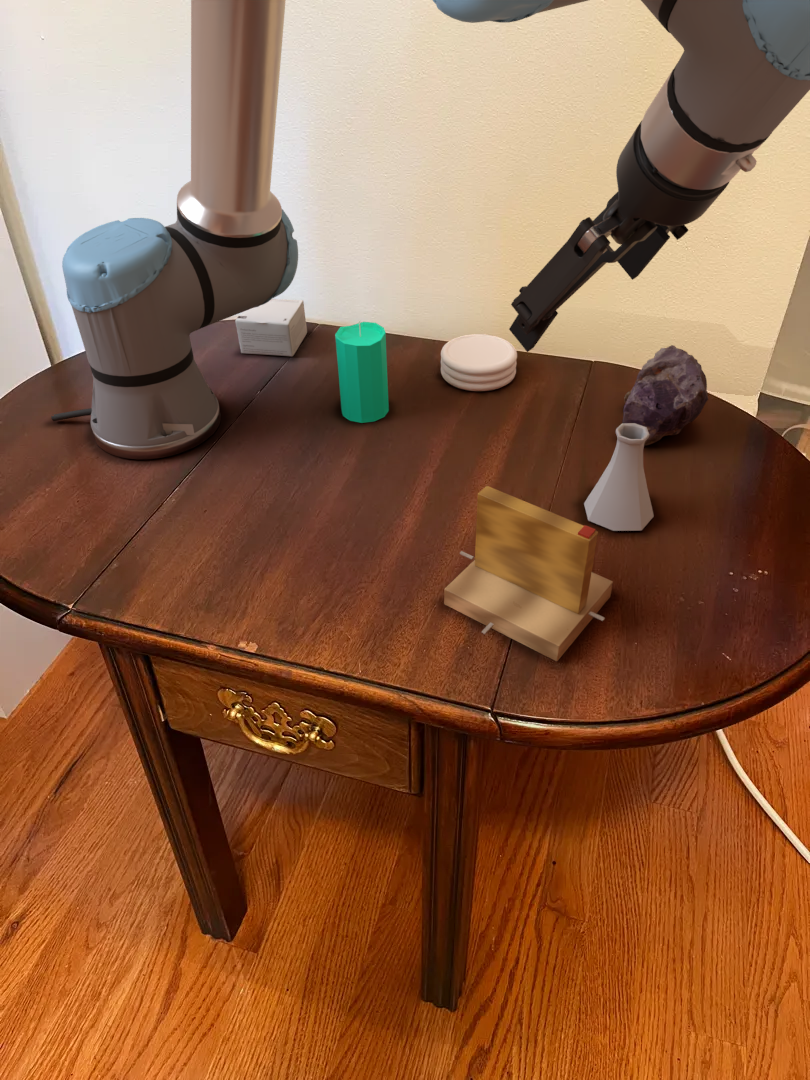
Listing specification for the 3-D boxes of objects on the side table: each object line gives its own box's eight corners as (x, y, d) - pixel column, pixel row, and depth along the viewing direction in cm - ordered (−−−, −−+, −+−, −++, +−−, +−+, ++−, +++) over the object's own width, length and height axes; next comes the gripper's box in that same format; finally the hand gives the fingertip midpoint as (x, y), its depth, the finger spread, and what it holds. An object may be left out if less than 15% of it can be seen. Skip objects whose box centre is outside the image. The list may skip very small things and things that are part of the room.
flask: (657, 498, 90) (674, 418, 83) (649, 539, 84) (666, 457, 78) (589, 486, 92) (601, 407, 85) (577, 526, 86) (589, 445, 80)
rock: (605, 448, 99) (692, 465, 96) (610, 391, 93) (703, 406, 89) (629, 389, 106) (711, 402, 103) (635, 331, 100) (723, 344, 96)
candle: (391, 398, 107) (388, 309, 99) (386, 423, 102) (381, 333, 94) (345, 397, 107) (338, 308, 100) (337, 422, 103) (329, 331, 95)
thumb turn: (474, 565, 79) (477, 491, 73) (483, 557, 80) (486, 483, 74) (578, 614, 74) (590, 538, 68) (586, 604, 75) (598, 529, 69)
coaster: (435, 358, 115) (435, 335, 112) (507, 353, 115) (508, 329, 113) (446, 395, 107) (446, 371, 105) (523, 390, 108) (525, 365, 105)
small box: (308, 332, 122) (305, 299, 118) (293, 358, 116) (288, 323, 112) (257, 329, 123) (252, 295, 119) (239, 354, 117) (233, 320, 114)
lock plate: (413, 613, 77) (413, 596, 76) (502, 528, 86) (503, 512, 85) (558, 689, 70) (560, 672, 69) (638, 588, 79) (642, 571, 78)
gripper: (592, 277, 54) (500, 403, 74) (838, 111, 61) (691, 268, 81) (520, 188, 55) (448, 337, 75) (771, 35, 61) (643, 210, 82)
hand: (574, 302), depth 78 cm, fingers open, 13 cm apart
